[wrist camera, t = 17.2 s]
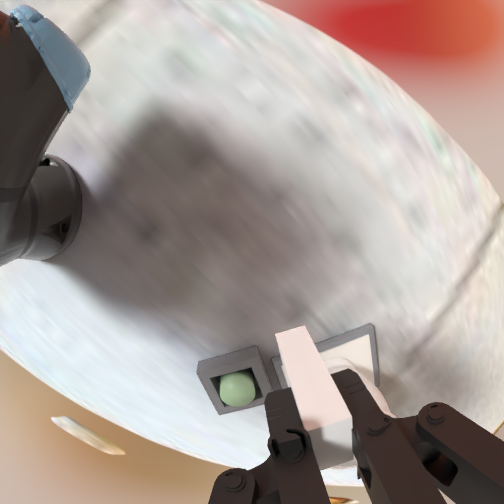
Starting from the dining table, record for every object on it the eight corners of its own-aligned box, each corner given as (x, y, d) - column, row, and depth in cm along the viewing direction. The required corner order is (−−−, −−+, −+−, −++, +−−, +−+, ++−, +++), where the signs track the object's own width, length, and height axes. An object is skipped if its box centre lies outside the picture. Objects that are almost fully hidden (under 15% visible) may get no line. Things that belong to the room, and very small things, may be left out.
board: (291, 413, 46) (292, 419, 44) (271, 358, 43) (272, 363, 41) (376, 382, 46) (380, 386, 44) (370, 323, 43) (374, 327, 41)
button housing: (219, 403, 44) (219, 415, 41) (198, 361, 42) (196, 372, 39) (272, 389, 44) (275, 400, 41) (256, 345, 42) (258, 356, 39)
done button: (226, 396, 42) (226, 409, 39) (215, 372, 41) (214, 386, 38) (257, 388, 42) (259, 401, 39) (247, 363, 41) (249, 377, 38)
